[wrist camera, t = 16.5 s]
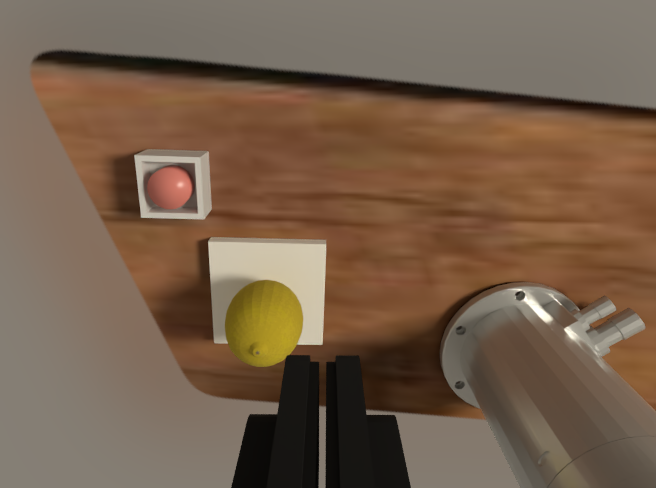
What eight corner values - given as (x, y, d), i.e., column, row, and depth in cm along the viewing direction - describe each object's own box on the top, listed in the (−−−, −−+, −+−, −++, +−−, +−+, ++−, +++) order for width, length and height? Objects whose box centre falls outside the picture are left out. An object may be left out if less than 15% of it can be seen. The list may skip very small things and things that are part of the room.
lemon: (261, 250, 35) (246, 298, 28) (318, 289, 37) (319, 345, 29) (221, 301, 37) (197, 360, 29) (277, 337, 38) (268, 402, 31)
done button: (193, 165, 32) (187, 170, 31) (195, 203, 33) (190, 210, 32) (153, 164, 32) (145, 168, 31) (156, 202, 33) (149, 209, 32)
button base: (208, 150, 33) (200, 157, 31) (211, 209, 35) (204, 219, 33) (147, 149, 33) (134, 155, 31) (153, 207, 35) (141, 217, 32)
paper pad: (325, 239, 36) (326, 244, 35) (322, 338, 39) (322, 344, 38) (210, 237, 36) (208, 241, 35) (216, 336, 39) (214, 343, 38)
